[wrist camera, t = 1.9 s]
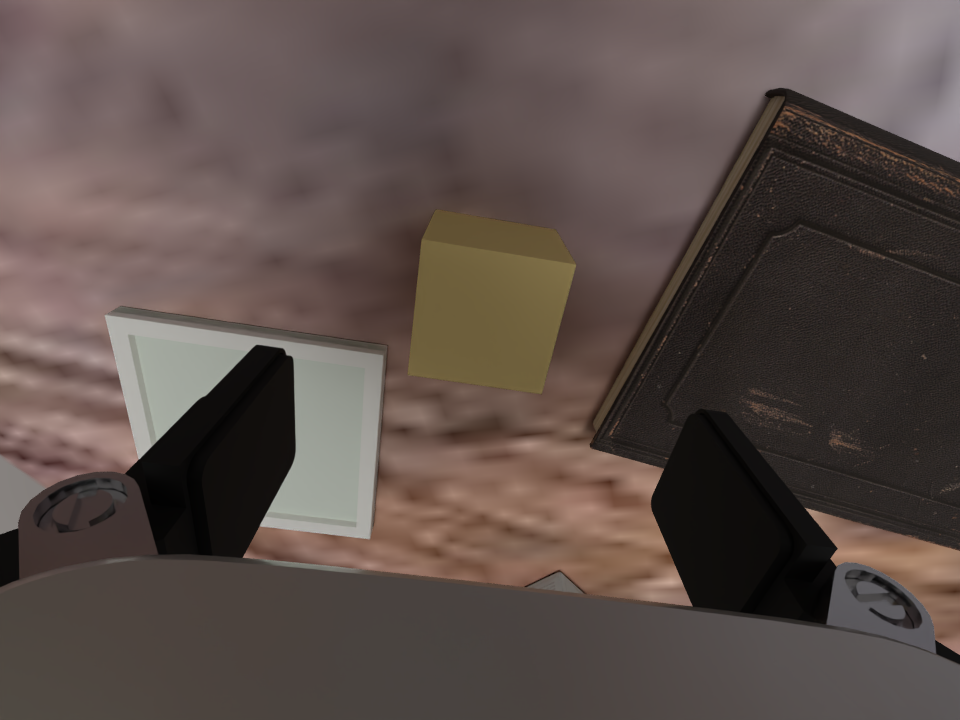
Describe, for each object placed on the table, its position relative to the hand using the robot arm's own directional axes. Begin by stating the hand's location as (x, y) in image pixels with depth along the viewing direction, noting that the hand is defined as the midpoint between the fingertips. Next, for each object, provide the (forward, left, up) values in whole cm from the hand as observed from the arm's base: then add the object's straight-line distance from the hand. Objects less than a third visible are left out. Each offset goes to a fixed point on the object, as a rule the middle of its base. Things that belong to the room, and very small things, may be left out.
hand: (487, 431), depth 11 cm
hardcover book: (+1, +19, -12) cm, 22 cm away
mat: (+10, -10, -11) cm, 18 cm away
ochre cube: (0, 0, -11) cm, 11 cm away
